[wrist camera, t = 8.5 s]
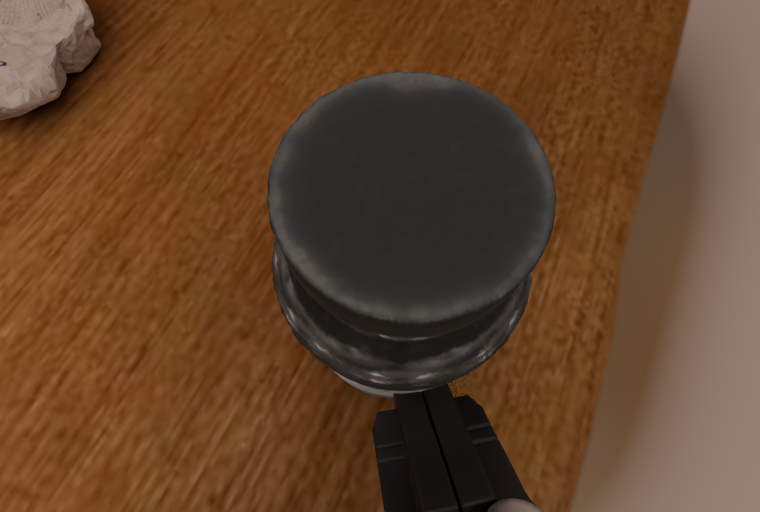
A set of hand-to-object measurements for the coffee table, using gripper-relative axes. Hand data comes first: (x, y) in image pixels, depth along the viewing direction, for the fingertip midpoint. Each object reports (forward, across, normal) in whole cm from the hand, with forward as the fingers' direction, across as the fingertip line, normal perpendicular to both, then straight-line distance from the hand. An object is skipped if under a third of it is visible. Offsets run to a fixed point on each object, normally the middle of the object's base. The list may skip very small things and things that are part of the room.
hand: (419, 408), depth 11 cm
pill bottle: (+6, 0, +1) cm, 6 cm away
